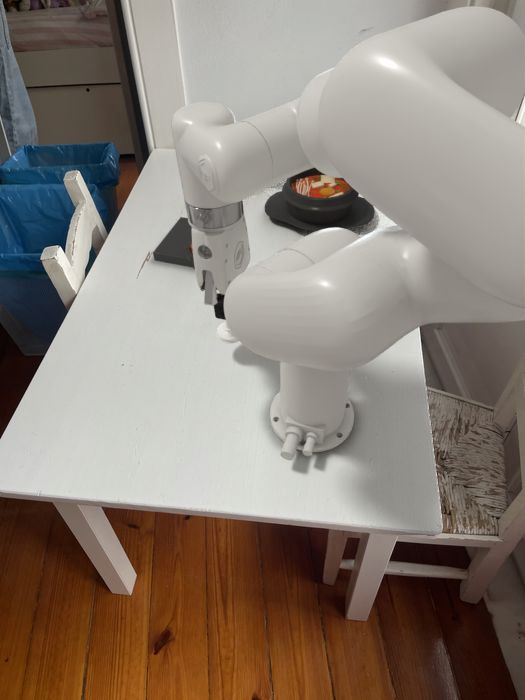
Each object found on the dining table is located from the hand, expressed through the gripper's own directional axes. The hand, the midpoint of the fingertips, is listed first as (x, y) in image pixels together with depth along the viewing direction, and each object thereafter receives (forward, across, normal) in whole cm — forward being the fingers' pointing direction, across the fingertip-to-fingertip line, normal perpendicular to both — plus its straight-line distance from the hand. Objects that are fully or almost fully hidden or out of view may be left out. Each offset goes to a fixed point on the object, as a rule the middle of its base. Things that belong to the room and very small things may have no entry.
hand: (228, 311), depth 77 cm
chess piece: (+5, 0, 0) cm, 5 cm away
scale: (+8, +27, +19) cm, 34 cm away
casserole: (+8, +46, -4) cm, 47 cm away
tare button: (+5, +22, +15) cm, 27 cm away
